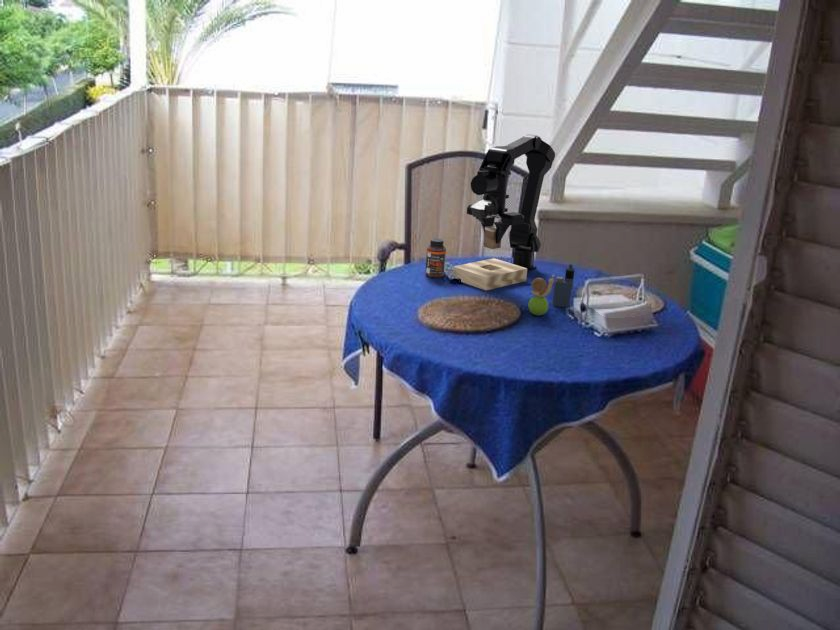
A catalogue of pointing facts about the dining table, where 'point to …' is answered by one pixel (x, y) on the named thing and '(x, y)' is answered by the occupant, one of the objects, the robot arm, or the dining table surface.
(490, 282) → the socket board
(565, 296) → the vaping device
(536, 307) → the snail figurine
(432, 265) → the supplement bottle
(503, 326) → the dining table surface
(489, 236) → the peg
